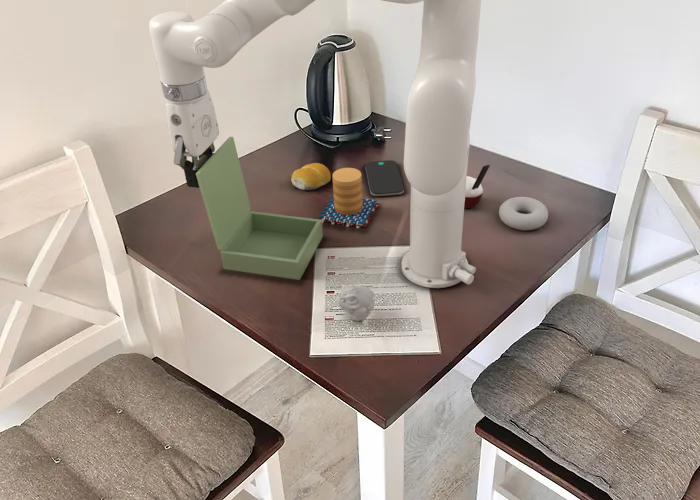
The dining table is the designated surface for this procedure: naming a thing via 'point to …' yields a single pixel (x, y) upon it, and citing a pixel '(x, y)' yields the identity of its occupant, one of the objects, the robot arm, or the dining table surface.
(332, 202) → the woven mat
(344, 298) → the frog figurine
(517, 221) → the donut
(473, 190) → the cocoa
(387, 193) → the smartphone
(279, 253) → the box
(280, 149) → the dining table surface
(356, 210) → the cookies
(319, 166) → the bread roll
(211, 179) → the box lid
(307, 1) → the robot arm
